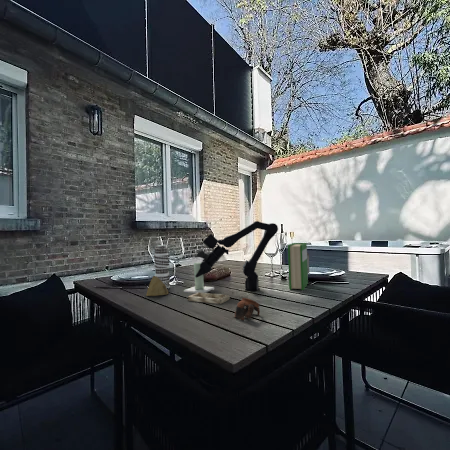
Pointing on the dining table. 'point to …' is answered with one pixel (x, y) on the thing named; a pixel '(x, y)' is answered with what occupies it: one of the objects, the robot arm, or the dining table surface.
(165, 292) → the rock
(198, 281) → the round block
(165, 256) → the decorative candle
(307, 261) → the coffee box
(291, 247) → the hardback book
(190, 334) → the dining table surface
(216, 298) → the frame
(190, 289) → the board
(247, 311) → the brown lumpy piece
